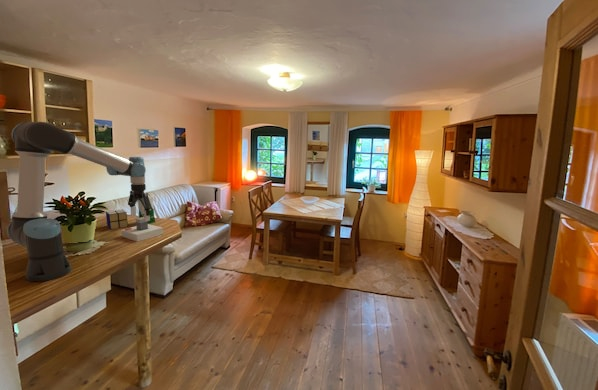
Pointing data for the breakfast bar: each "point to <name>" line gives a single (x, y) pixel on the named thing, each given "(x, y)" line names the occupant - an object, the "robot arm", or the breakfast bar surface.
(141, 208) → the milk carton
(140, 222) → the plug
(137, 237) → the socket plate
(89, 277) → the breakfast bar surface
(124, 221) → the puzzle cube
